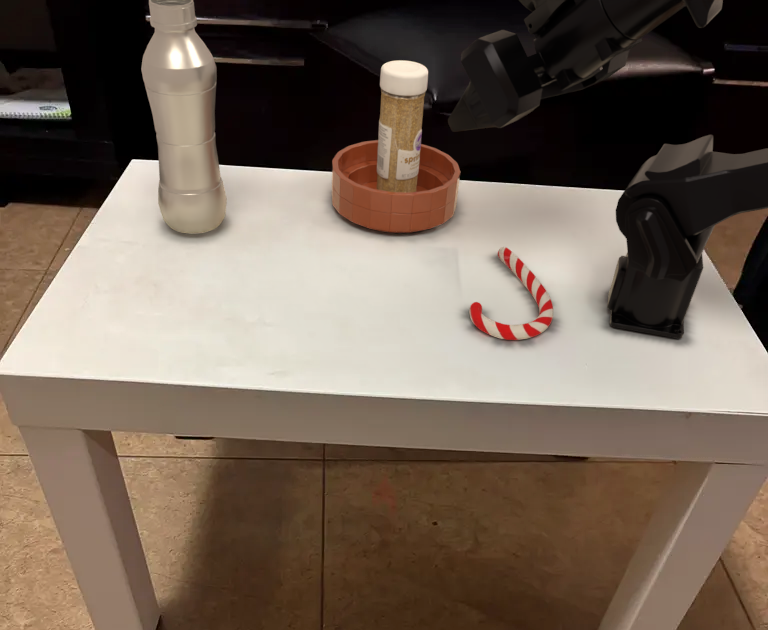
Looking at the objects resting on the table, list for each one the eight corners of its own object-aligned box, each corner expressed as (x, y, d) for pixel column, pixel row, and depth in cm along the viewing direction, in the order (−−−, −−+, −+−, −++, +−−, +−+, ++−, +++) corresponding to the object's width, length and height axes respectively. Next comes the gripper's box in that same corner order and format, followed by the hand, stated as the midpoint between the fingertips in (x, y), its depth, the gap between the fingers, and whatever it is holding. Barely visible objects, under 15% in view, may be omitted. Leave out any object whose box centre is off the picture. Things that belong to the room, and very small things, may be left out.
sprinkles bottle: (415, 214, 86) (427, 77, 77) (371, 210, 86) (378, 72, 77) (417, 195, 89) (429, 60, 80) (375, 191, 90) (383, 56, 80)
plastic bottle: (148, 224, 83) (113, -3, 68) (202, 204, 86) (179, -16, 72) (188, 249, 80) (161, 17, 65) (242, 227, 83) (227, 2, 69)
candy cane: (536, 245, 82) (563, 331, 71) (534, 257, 83) (560, 344, 72) (459, 242, 81) (474, 328, 71) (457, 254, 82) (472, 341, 72)
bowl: (463, 191, 92) (469, 150, 89) (442, 246, 83) (447, 203, 80) (349, 172, 94) (351, 132, 90) (316, 225, 85) (316, 182, 81)
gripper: (633, -117, 65) (497, 7, 78) (502, -90, 55) (369, 48, 67) (692, 19, 68) (550, 118, 80) (577, 69, 57) (435, 174, 70)
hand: (481, 112), depth 74 cm, fingers open, 9 cm apart
